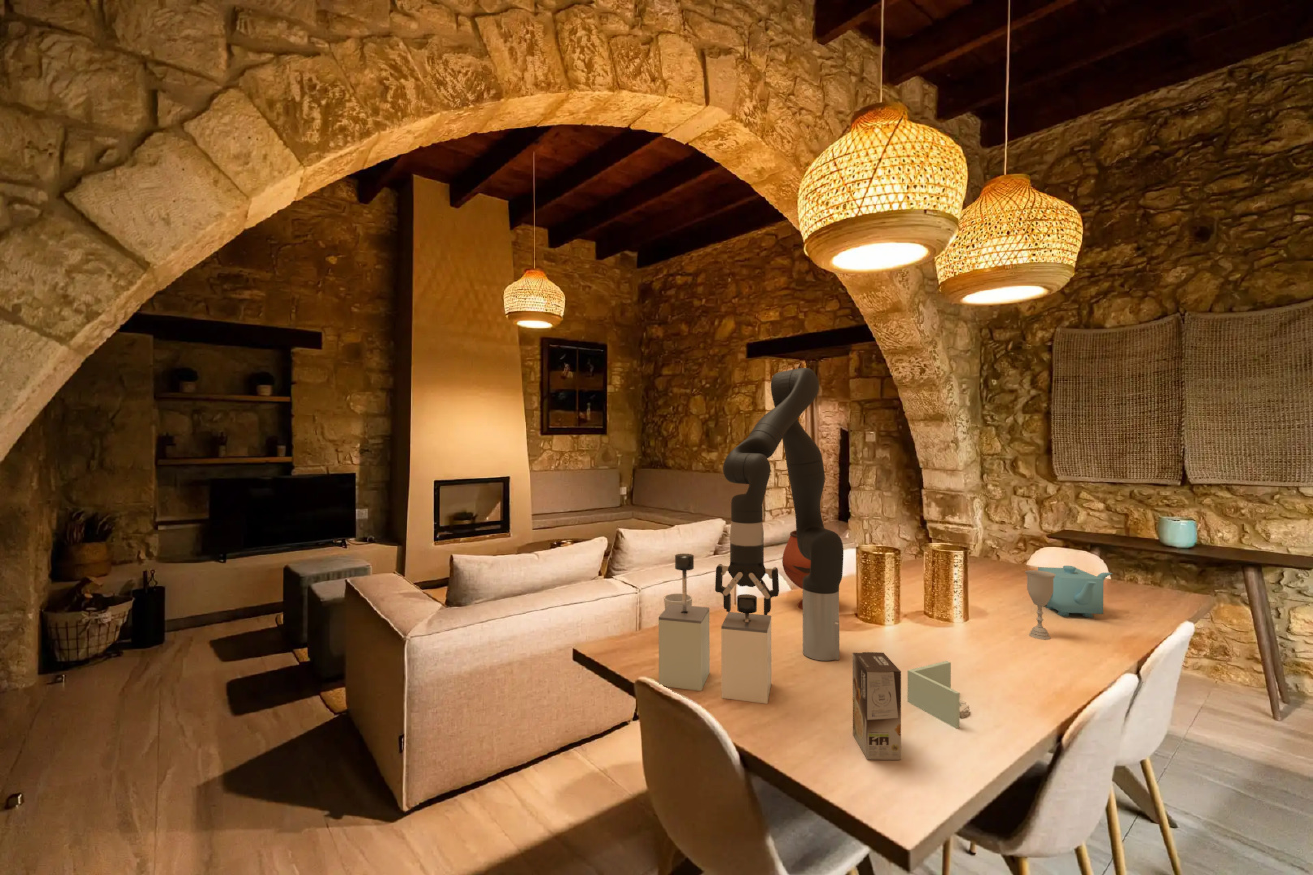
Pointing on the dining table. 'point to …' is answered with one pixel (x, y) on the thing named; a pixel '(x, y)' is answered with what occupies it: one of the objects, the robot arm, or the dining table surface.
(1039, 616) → the chalice
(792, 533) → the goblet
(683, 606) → the plunger
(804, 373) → the robot arm
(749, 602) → the plunger
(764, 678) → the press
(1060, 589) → the teakettle
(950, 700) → the l-shaped corner panel
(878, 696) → the coffee box
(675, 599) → the cup
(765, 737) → the dining table surface
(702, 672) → the block
